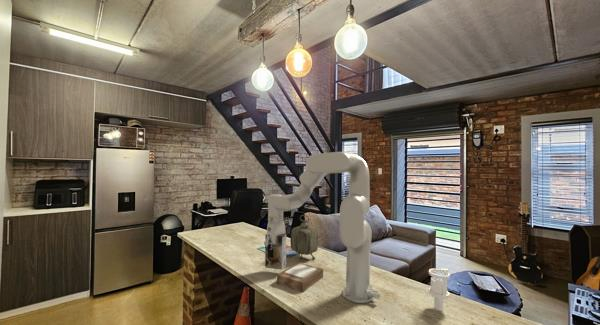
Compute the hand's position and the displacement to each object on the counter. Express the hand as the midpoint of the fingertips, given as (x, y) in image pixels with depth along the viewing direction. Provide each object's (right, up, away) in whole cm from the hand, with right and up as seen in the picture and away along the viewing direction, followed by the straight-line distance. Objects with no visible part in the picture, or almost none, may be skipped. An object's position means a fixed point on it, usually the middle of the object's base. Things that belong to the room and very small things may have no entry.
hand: (275, 254), depth 127 cm
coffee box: (0, -6, 0) cm, 6 cm away
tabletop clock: (+14, -10, +21) cm, 27 cm away
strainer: (+65, -10, -29) cm, 72 cm away
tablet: (0, -10, +34) cm, 35 cm away
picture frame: (+12, -9, -7) cm, 17 cm away
